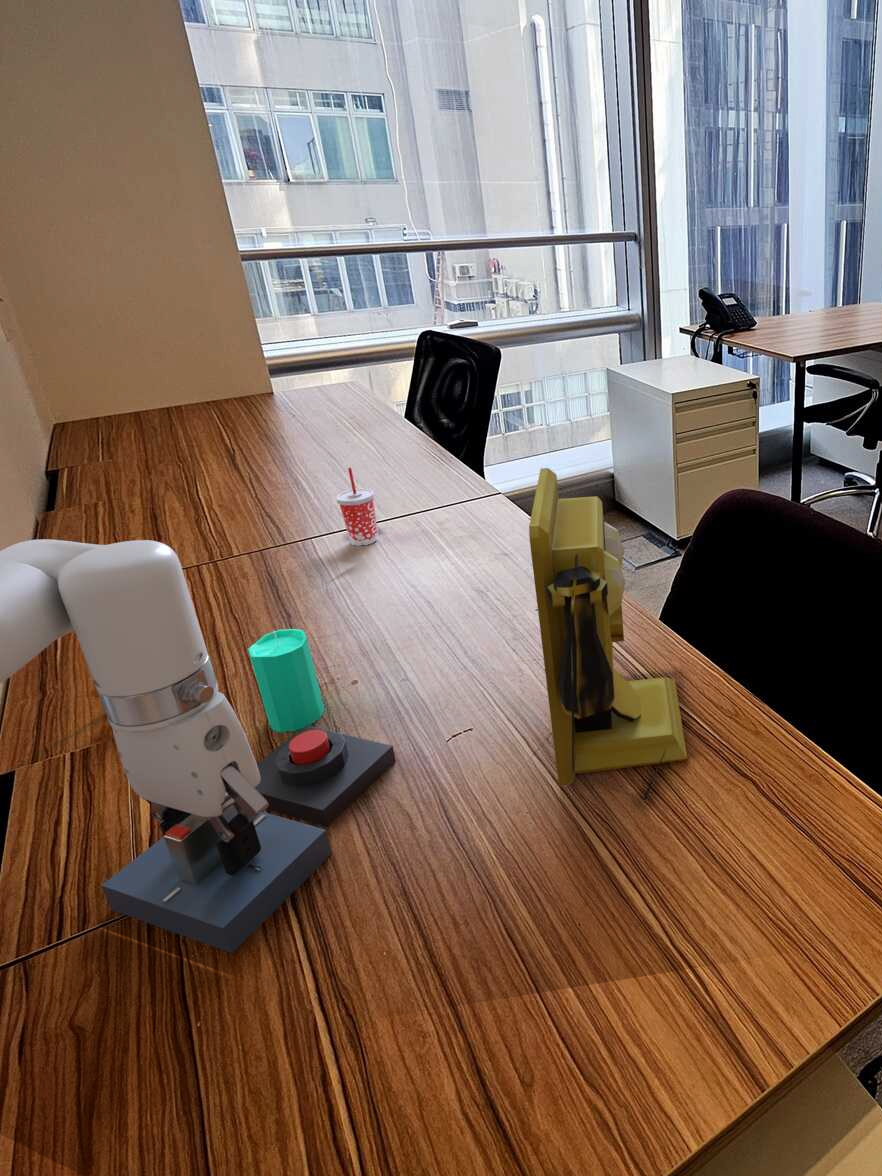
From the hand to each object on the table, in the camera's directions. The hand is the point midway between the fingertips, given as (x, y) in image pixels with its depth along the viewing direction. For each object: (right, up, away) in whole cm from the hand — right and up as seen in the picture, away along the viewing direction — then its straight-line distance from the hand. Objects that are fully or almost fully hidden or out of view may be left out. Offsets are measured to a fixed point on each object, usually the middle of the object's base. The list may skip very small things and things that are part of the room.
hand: (216, 852), depth 70 cm
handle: (0, 0, 0) cm, 0 cm away
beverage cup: (-20, +24, +70) cm, 77 cm away
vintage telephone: (+34, +5, +20) cm, 40 cm away
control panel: (0, -3, +1) cm, 3 cm away
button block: (+2, +2, +13) cm, 14 cm away
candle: (-6, +6, +24) cm, 25 cm away
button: (+2, +5, +12) cm, 13 cm away
